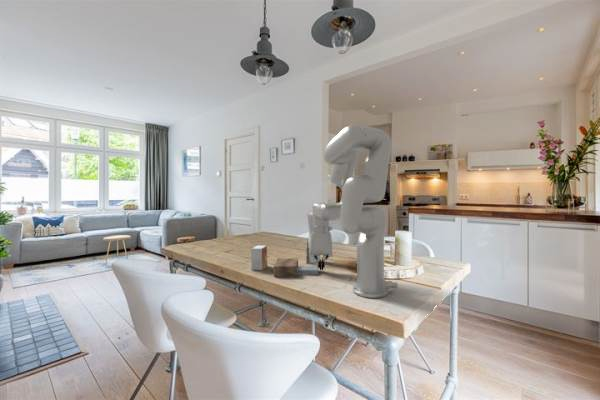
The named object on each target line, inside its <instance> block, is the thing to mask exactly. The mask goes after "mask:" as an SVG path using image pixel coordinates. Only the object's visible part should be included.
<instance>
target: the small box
mask: <svg viewBox="0 0 600 400" xmlns="http://www.w3.org/2000/svg"><path fill="white" fill-rule="evenodd" d="M267 246H268V245H258V244H257V245H255V246H254V247H252V248H250V249H251V250H250V254H251V255H250V259H251V260H250V261H251V262H250V263H251V264H250V265H251V271H263V270H265V269H266V268H268V247H267Z"/></svg>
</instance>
